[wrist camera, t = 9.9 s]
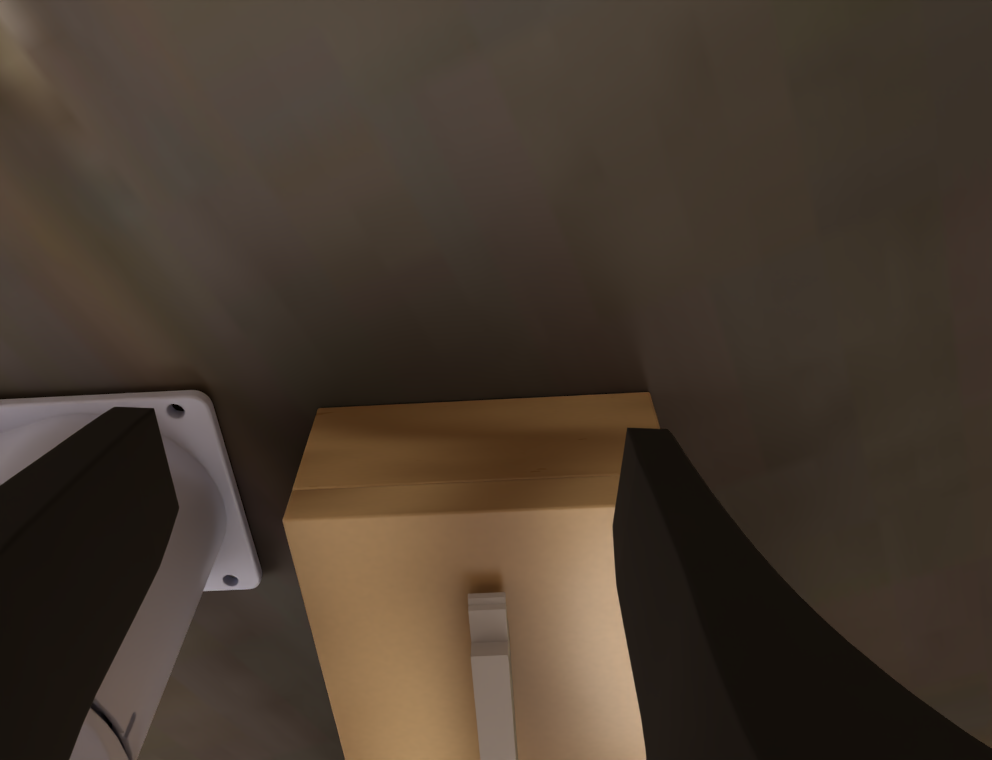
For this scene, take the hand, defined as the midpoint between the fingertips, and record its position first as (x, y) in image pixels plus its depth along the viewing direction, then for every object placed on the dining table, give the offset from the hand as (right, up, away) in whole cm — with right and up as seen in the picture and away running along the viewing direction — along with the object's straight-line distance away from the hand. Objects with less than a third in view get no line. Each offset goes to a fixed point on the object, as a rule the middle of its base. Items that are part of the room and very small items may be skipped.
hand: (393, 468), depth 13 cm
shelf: (+2, -10, +19) cm, 22 cm away
